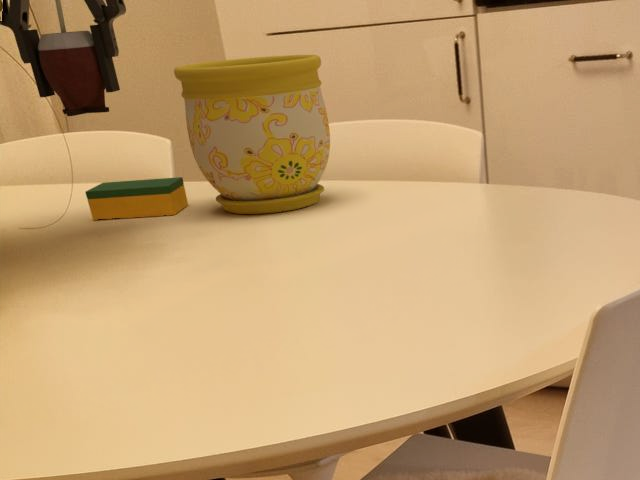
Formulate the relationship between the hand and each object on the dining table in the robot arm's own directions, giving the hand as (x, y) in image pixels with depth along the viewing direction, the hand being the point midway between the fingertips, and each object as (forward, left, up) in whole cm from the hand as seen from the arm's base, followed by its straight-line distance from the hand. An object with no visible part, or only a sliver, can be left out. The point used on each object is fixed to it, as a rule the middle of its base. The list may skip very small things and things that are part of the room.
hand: (80, 93), depth 110 cm
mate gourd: (0, 0, -2) cm, 2 cm away
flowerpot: (+18, +10, -15) cm, 25 cm away
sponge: (0, +11, -15) cm, 18 cm away
